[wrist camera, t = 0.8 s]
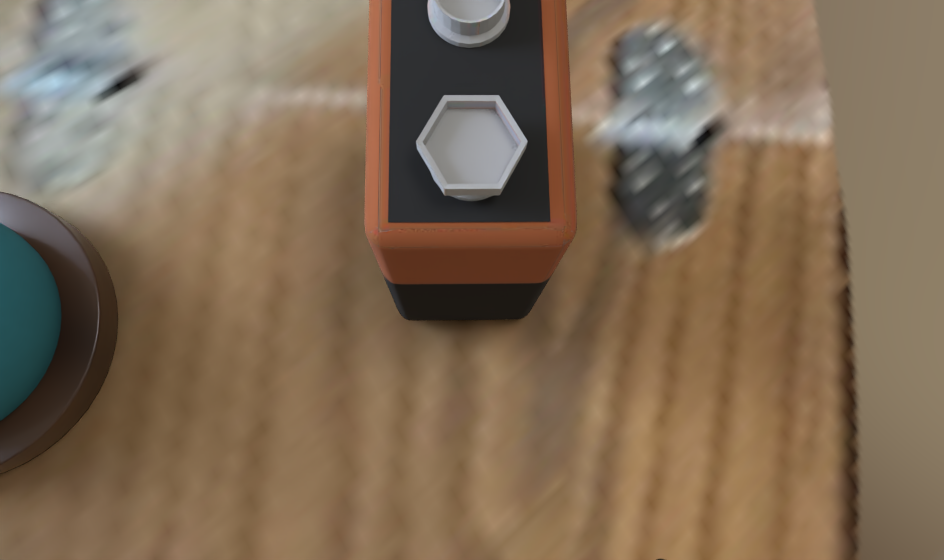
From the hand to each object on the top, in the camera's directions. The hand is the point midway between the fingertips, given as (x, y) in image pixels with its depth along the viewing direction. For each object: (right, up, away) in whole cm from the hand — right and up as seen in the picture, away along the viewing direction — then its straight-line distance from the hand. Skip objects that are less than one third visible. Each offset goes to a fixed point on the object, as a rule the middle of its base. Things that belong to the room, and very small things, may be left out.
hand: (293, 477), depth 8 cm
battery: (+2, +4, +15) cm, 16 cm away
